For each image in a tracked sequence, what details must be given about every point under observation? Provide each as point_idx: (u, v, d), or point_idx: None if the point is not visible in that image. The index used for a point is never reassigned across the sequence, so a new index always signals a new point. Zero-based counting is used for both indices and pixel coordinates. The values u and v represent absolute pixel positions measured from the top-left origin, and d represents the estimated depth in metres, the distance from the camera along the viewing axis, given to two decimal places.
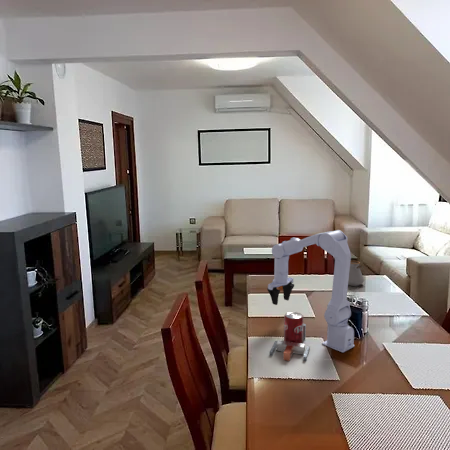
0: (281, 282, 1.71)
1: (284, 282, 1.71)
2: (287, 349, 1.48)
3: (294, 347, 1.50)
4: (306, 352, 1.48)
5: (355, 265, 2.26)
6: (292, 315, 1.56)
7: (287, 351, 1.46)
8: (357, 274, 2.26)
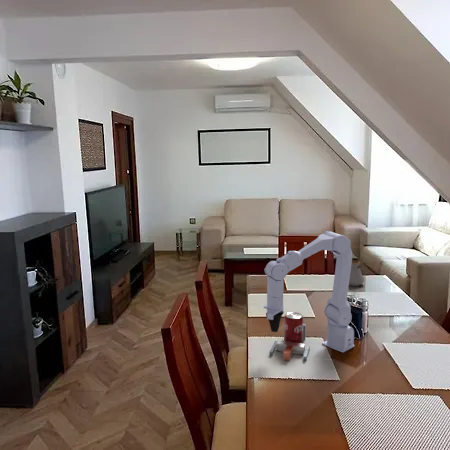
0: (279, 308, 1.44)
1: (281, 307, 1.44)
2: (287, 349, 1.48)
3: (294, 347, 1.50)
4: (306, 352, 1.48)
5: (355, 265, 2.26)
6: (292, 315, 1.56)
7: (287, 351, 1.46)
8: (357, 274, 2.26)
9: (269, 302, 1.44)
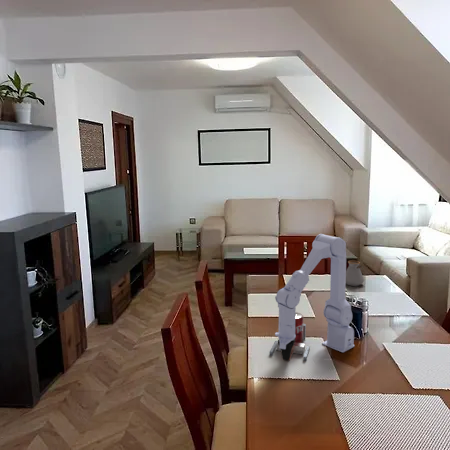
0: (291, 336, 1.40)
1: (293, 335, 1.41)
2: None
3: (294, 347, 1.51)
4: (306, 352, 1.48)
5: (355, 265, 2.26)
6: None
7: None
8: (357, 274, 2.26)
9: (281, 330, 1.41)
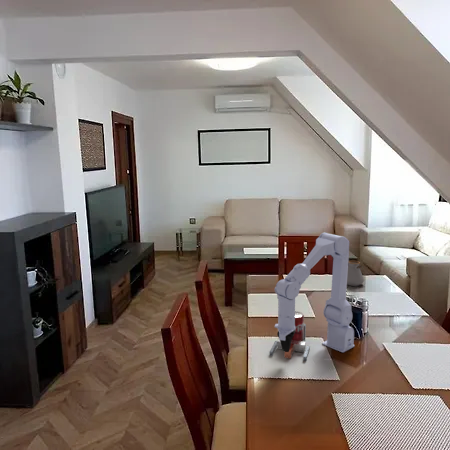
0: (290, 328, 1.39)
1: (293, 327, 1.40)
2: None
3: (295, 345, 1.52)
4: (306, 352, 1.48)
5: (355, 265, 2.26)
6: None
7: None
8: (357, 274, 2.26)
9: (280, 322, 1.40)
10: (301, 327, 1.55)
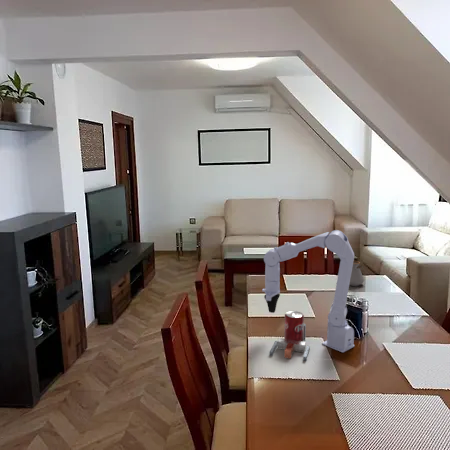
0: (276, 291, 1.61)
1: (278, 290, 1.62)
2: (288, 347, 1.49)
3: (295, 345, 1.52)
4: (306, 352, 1.48)
5: (355, 265, 2.26)
6: (292, 314, 1.57)
7: (288, 349, 1.48)
8: (357, 274, 2.26)
9: (267, 286, 1.61)
10: (301, 327, 1.55)
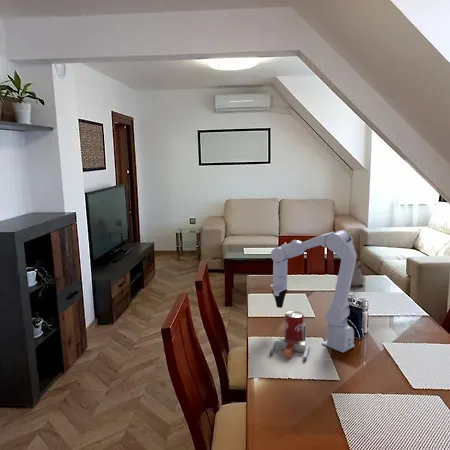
0: (283, 286, 1.66)
1: (286, 286, 1.67)
2: (288, 347, 1.49)
3: (295, 345, 1.52)
4: (306, 352, 1.48)
5: (355, 265, 2.26)
6: (292, 314, 1.57)
7: (288, 349, 1.48)
8: (357, 274, 2.26)
9: (275, 281, 1.66)
10: (301, 327, 1.55)
